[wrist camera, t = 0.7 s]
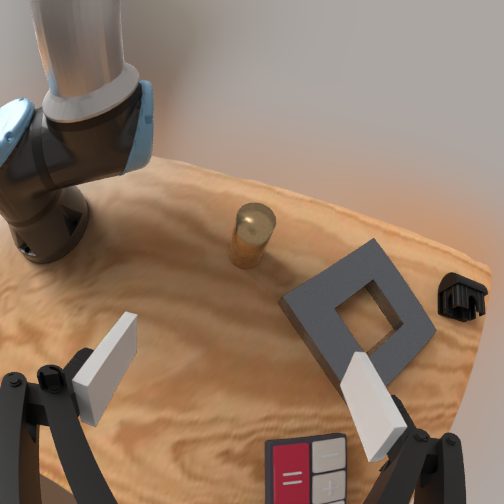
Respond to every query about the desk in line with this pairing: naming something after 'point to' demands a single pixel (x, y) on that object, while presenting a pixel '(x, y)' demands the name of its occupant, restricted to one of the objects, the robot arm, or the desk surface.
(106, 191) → the desk surface
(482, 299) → the end cap
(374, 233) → the desk surface
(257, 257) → the metal cylinder
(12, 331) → the desk surface
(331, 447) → the calculator
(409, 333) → the frame
